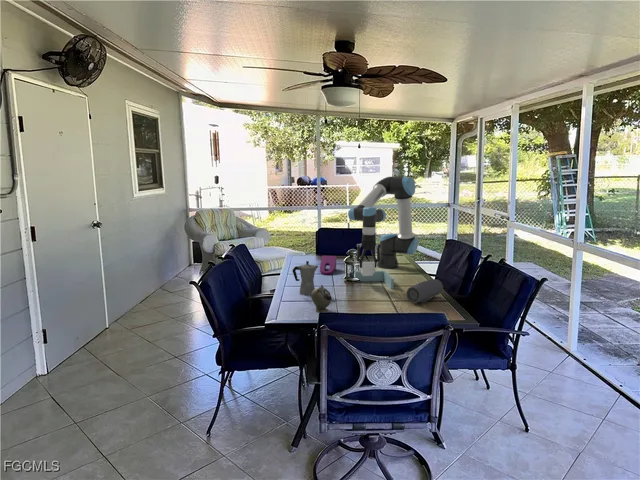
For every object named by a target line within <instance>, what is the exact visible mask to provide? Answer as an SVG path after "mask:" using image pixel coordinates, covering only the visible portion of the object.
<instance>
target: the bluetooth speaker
mask: <svg viewBox="0 0 640 480" xmlns="http://www.w3.org/2000/svg"><path fill="white" fill-rule="evenodd" d="M443 291H444V285H443V283H442V282H441V281H440V280H439V279H436V278H433V279H429V280H425V281H422V282H419V283H416V284H414V285H411V286H410V287H408V289H407V291H406V293H405V294H406V298H407V300H408V301H409V302H410V303H413V304H414V303H415V304H416V303H420V304H421V303H427V302H428V301H431V300H432V298H434V297H436V296H438V295H440V294H442V292H443Z"/></svg>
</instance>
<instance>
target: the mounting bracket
mask: <svg viewBox="0 0 640 480" xmlns="http://www.w3.org/2000/svg"><path fill="white" fill-rule="evenodd" d="M320 260H321V261H320V265H319V274H321V275H325V276H328V275H329V276H330V275H332V274H333V273H334V272H335V271H334V270H337V256H336V255H322V257H321V259H320ZM327 266H328V267H329V268H328V270H326V269H327Z"/></svg>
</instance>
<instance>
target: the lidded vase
mask: <svg viewBox="0 0 640 480" xmlns="http://www.w3.org/2000/svg"><path fill="white" fill-rule="evenodd" d="M310 298H311V301H312V303H313V304H314V306H315V312H316V313H317V312H318V313H326V312H328V311H329V309H328V307H329V305H330V304H331V303H332V300H333V298H332V295H331V292H330V291H329V290H328V289H327V288H326V287H324V286H323V284H321V285H320V286H319V287H315V289H314V290H313V291H312V293H311V295H310Z"/></svg>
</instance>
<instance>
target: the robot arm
mask: <svg viewBox="0 0 640 480" xmlns="http://www.w3.org/2000/svg"><path fill="white" fill-rule="evenodd" d="M415 192H416V183H415V180H414V179H413V178H412V177H409V176H386V177H384V178H382V179H381V180H379V181H377V182H376V183H375V184H374V185H373V186H372V189H371V190H370V191H369V193H368V194H367V195H366V196H365V198H363V200H362V201H360V203H359V204H358V205H356V207H350V208H349V209H348V210H347V211H348V212H347V216H348V219H349V220H351V221H356V222H359V221H360V222H362V235H361V237H362V238H361V243H357V244H356V247H357V249H356V250H357V251H356V260H355V261H356V262H359V265H358V266H359V268H360V269H361V273H362V274H363V262H364V261H363V260H364V258H365V255H366V253H367V251H370V252H371V257H372V259H373V261H372V262H373V274H375V271H376V268H377V267H378V268H381V269H396V268H399V262H398V258H397V254H405V255H415V253H416V252H417V250H418V247H419V239H418V237H416V236H415V233H414V232H413V227H412V226H413V225H412V208H411V207H412V206H411V199H412V198H413V196H414V195H415ZM386 195H394V197H393V198H394V199H395V201H396V203H397V204H396V205H397V216H398V217H397V218H398V230H399V233H398V234H397V233H385V234H381V235H380V237H379V243H376V229H377V225H376V224H377V223H381V222H383V221H384V220H385V219H386V217H387V213H386V211H385V210H384V209H382V208H376V207H375V205H376V204H377V203H378V201H380V200H381V198H383V197H385V196H386ZM361 247H363V249H362V253H361ZM375 247H376V252H375V249H374V248H375Z"/></svg>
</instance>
